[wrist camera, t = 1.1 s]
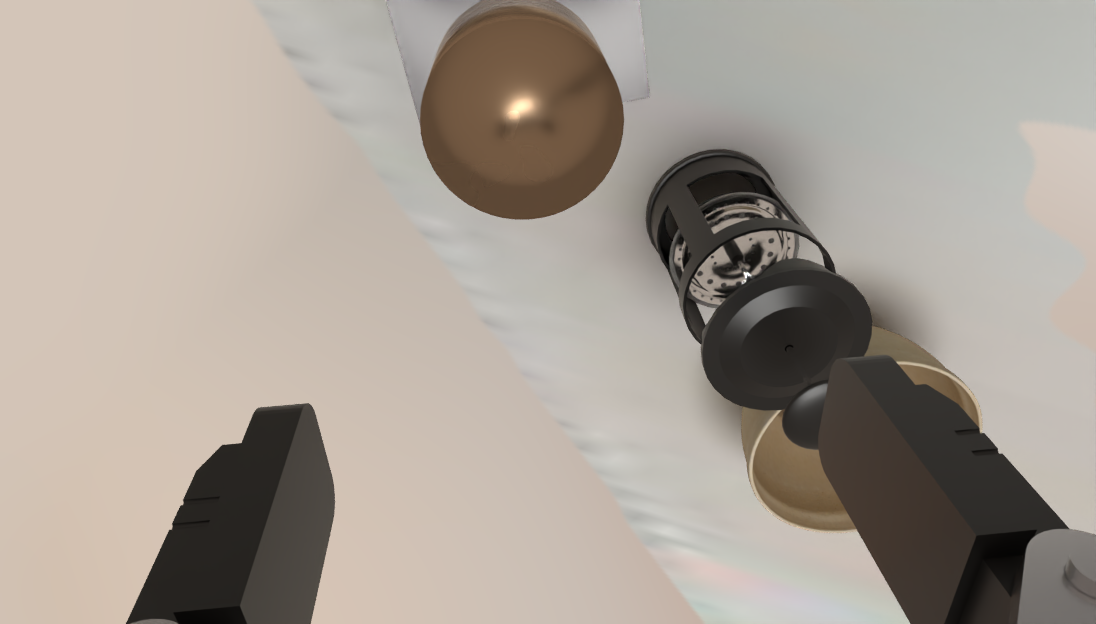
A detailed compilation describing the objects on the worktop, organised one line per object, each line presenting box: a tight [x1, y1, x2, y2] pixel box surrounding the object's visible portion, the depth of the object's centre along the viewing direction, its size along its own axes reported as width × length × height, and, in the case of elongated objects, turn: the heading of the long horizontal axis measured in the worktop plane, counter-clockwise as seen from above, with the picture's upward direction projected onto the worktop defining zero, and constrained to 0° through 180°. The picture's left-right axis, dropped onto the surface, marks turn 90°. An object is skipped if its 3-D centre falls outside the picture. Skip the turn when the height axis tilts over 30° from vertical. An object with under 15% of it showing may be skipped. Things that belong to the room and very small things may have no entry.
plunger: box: [420, 0, 624, 219], centre depth 25 cm, size 6×6×24 cm
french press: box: [646, 150, 872, 450], centre depth 44 cm, size 12×9×23 cm
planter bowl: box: [741, 326, 982, 533], centre depth 56 cm, size 16×16×11 cm
